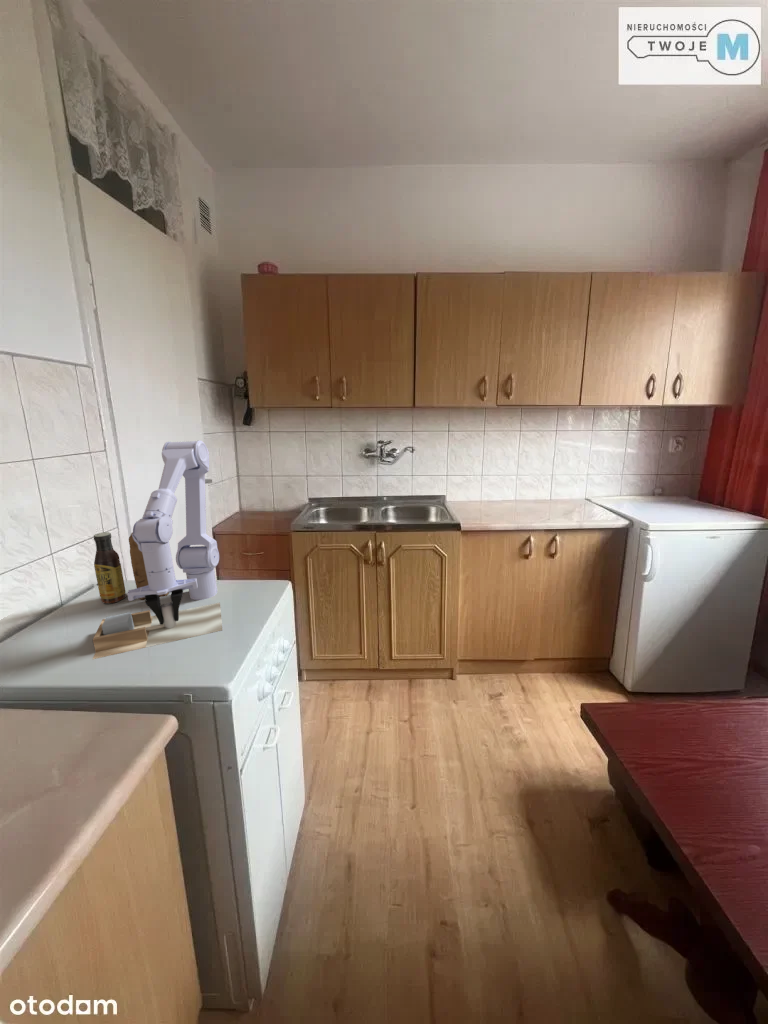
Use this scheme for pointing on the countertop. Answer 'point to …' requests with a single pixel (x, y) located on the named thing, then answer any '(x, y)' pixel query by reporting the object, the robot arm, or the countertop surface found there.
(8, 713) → the countertop surface
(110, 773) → the countertop surface
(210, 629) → the shelf lane
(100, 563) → the sauce bottle
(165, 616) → the block
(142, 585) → the block
